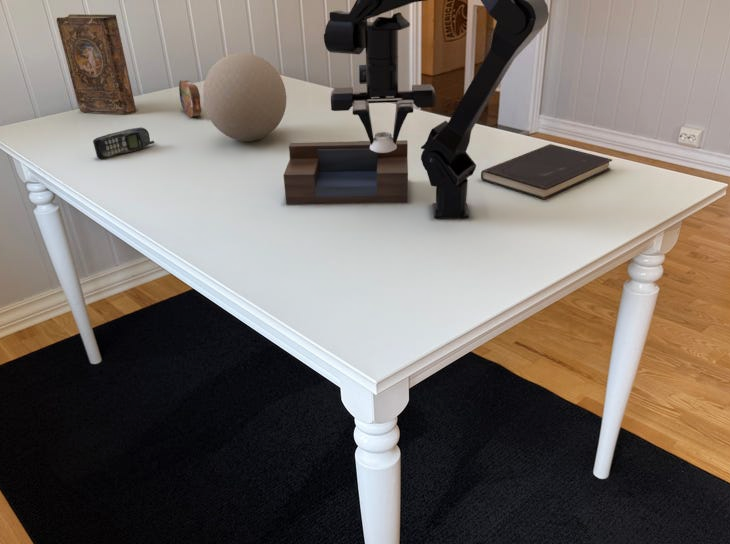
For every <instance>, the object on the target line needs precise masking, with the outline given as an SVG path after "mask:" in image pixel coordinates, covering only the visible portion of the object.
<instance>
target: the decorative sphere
mask: <svg viewBox="0 0 730 544" xmlns="http://www.w3.org/2000/svg"><path fill="white" fill-rule="evenodd" d="M286 90H287V89H286V86H285V83H284V81H283V78H282V76H281V75H280V73H279V72H278V70H277V69H276V67H274V65H272V64H271V63H270V62H269V61H268V60H266V59H265V58H263V57H261V56H259V55H256V54H254V53H249V52H235V53H231V54H228V55H226V56H224V57H222V58H220V59H219V60H218V61H217V62H215V63H214V65H213V66H212V67H211V68H210V69H209V71H208V72H207V74H206V77H205V79H204V83H203V88H202V100H203V101H202V102H203V106H204V109H205V113H206V115H207V117H208V119H209V120H210V122H211V124H212V125H213V126H214V127H215V128H216V129H217V130H218V131H219V132H221V133H222V134H223V135H225V136H226V137H228V138H231V139H233V140H236V141H241V142H253V141H258V140H261V139H263V138H265V137H267V136H269V135H270V134H272V133H273V132H274V131H275V130H276V129H277V128H278V126H279V125H280V123H281V121H282V120H283V118H284V115H285V112H286V108H287V91H286Z"/></svg>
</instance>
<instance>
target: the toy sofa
mask: <svg viewBox="0 0 730 544" xmlns="http://www.w3.org/2000/svg"><path fill="white" fill-rule="evenodd" d="M408 144H409V143H408V140H407V139H406V140H405V139H403V140H397V141H396V145H397V148H396V149H395V150H393V151H391V152H388V153H377V152H374V151H372V150H371V149H370V145H371V143H370V140H355V141H354V140H353V141H351V140H350V141H311V142H309V141H308V142H307V141H306V142H290V143H289V145H288V153H289V160H288V162H287V165H286V168H285V170H284V172H283V176H282V177H283V185H284V195H285V205H334V204H335V205H336V204H337V205H338V204H340V205H341V204H343V205H345V204H406V203H407V204H408V203H409V162H408V155H409V154H408V153H409V152H408V146H409V145H408Z"/></svg>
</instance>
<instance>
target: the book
mask: <svg viewBox="0 0 730 544" xmlns="http://www.w3.org/2000/svg"><path fill="white" fill-rule="evenodd" d="M56 25H57V29H58V32H59V36H60V40H61V45H62V49H63V51H64V55H65V60H66V64H67V67H68V72H69V75H70V79H71V83H72V87H73V92H74V95H75V99H76V104H77V106H78V109H79V110H80V112H82V113H88V114H89V113H90V114H107V115H109V114H110V115H125V116H126V115H130V114H133V113H135V112H136V111H137V107H136V103H135V98H134V94H133V89H132V85H131V84H132V83H131V79H130V75H129V70H128V66H127V61H126V55H125V51H124V45H123V42H122V37H121V34H120V27H119V23H118V18H117V14H90V13H89V14H88V13H87V14H84V13H83V14H79V13H78V14H74V13H73V14H72V13H71V14H68V15H67V16H66V17H65V16H64V17H62V16H61V17H59V16H58V17H57V18H56Z"/></svg>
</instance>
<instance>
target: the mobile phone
mask: <svg viewBox="0 0 730 544" xmlns="http://www.w3.org/2000/svg"><path fill="white" fill-rule="evenodd" d="M92 143H93V148H94V150H95V155H96V157H97V159H99V160H100V159H107V158H112V157H116V156H120V155H123V154H129V153H133V152H137V151H139V150H141V149H144V148H146V147H148V146H149V145H153V144H155V141H154V140H151V138H150V132H149V131H148V130H147V128H145V127H133V128H129V129H124V130H120V131H116V132H112V133H108V134H104V135H102V136H98V137H96V138H94V139H93V141H92Z"/></svg>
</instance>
